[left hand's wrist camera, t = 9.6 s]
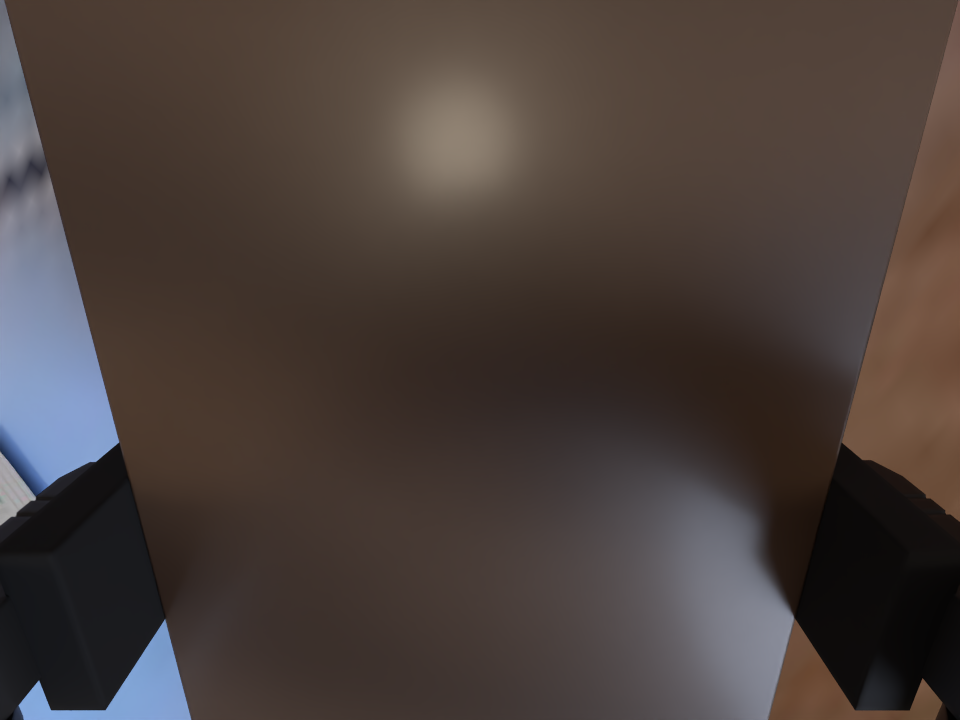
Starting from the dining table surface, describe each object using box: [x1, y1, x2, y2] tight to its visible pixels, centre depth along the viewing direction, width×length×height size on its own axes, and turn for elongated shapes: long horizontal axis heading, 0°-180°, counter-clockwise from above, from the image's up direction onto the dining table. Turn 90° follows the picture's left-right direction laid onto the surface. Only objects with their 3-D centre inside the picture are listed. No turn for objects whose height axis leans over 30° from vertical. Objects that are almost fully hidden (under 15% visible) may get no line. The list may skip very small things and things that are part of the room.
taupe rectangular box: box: [5, 0, 958, 720], centre depth 12 cm, size 18×10×9 cm, turn 0°
